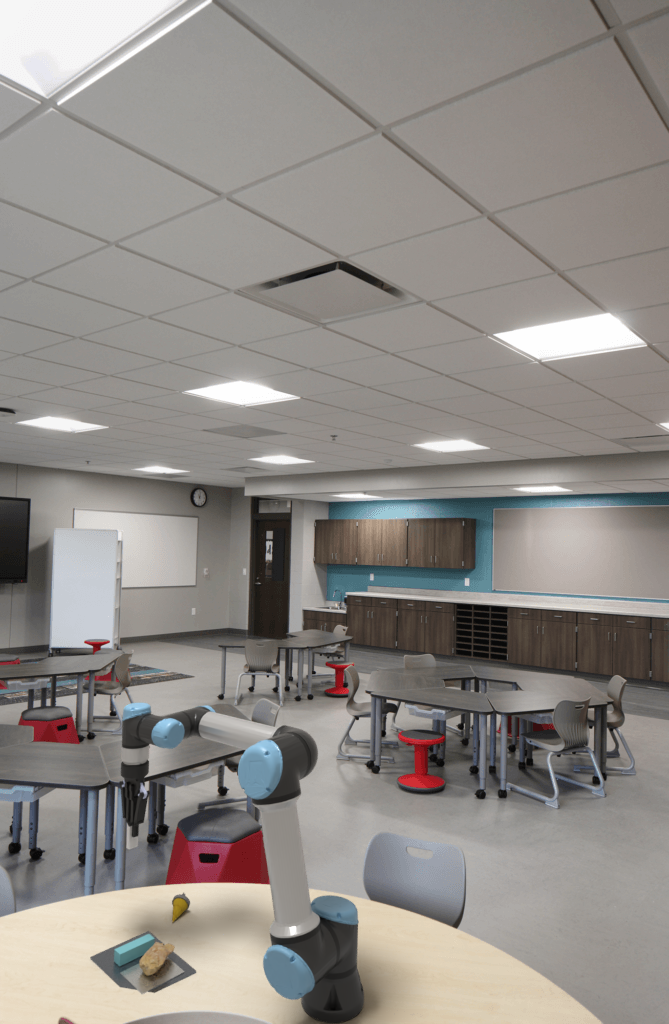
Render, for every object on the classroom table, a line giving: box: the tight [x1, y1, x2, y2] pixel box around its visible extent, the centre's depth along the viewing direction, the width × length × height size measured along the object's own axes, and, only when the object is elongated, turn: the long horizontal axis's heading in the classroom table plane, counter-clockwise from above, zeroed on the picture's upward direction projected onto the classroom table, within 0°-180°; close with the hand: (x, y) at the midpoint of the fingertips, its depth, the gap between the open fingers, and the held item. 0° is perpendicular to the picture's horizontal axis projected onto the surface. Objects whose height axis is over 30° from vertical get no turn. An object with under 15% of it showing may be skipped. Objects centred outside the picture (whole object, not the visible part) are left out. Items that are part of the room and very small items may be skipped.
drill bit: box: [171, 892, 191, 924], centre depth 194 cm, size 5×5×10 cm
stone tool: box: [139, 942, 176, 976], centre depth 168 cm, size 9×7×10 cm
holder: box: [90, 930, 197, 995], centre depth 169 cm, size 24×17×1 cm
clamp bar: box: [114, 934, 155, 967], centre depth 172 cm, size 3×10×3 cm, turn 135°
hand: (132, 847), depth 180 cm, fingers closed
